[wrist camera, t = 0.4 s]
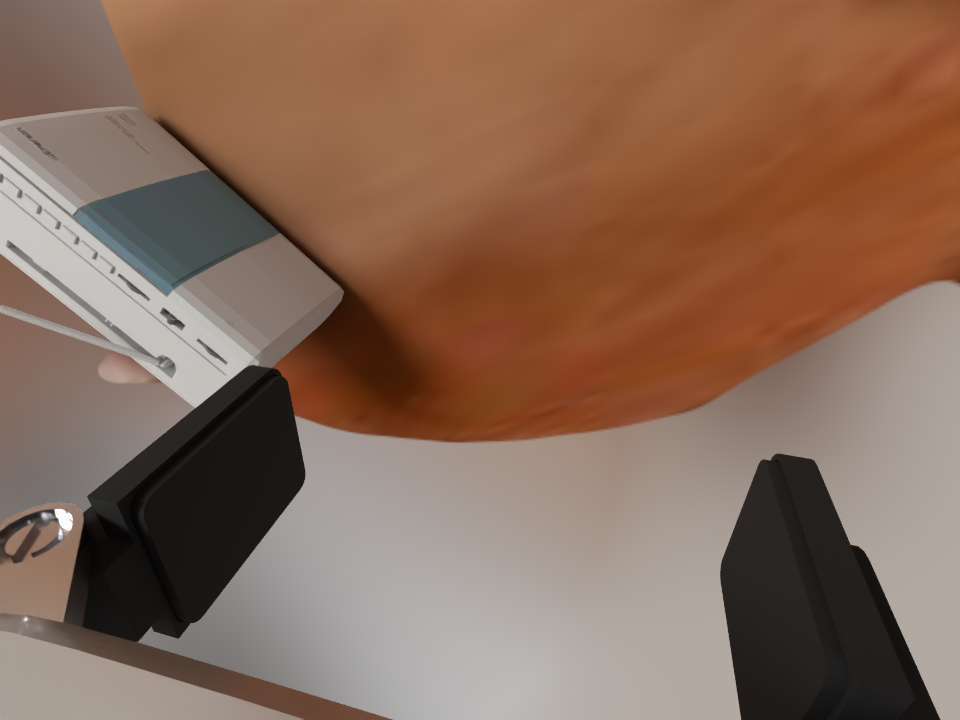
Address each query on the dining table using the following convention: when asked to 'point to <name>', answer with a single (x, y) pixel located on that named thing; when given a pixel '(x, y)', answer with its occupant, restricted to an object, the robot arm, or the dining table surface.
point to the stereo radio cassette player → (152, 249)
